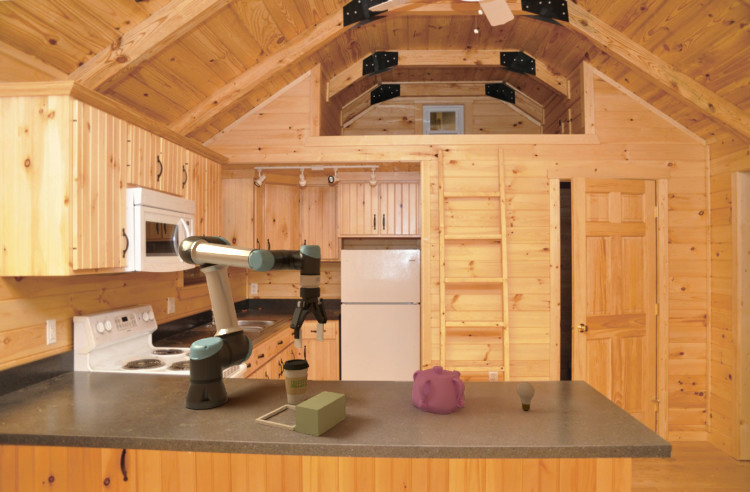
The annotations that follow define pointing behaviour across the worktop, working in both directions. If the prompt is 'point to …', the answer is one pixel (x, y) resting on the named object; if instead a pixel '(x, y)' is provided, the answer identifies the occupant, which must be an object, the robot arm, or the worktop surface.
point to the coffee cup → (296, 380)
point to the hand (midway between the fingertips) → (309, 344)
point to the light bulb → (525, 394)
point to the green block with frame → (312, 414)
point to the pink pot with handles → (438, 390)
